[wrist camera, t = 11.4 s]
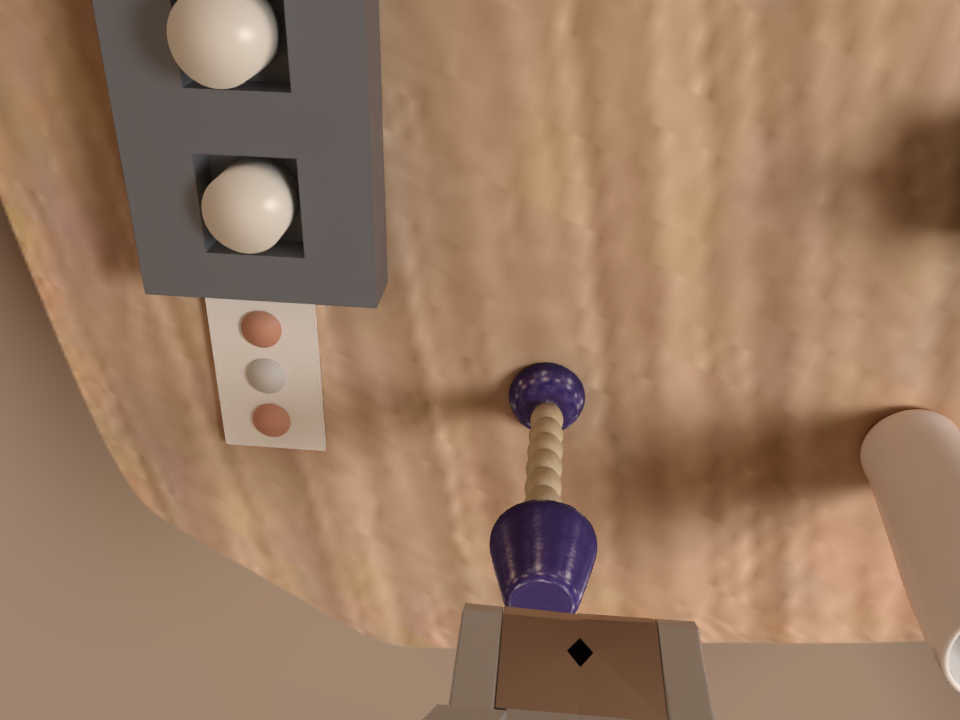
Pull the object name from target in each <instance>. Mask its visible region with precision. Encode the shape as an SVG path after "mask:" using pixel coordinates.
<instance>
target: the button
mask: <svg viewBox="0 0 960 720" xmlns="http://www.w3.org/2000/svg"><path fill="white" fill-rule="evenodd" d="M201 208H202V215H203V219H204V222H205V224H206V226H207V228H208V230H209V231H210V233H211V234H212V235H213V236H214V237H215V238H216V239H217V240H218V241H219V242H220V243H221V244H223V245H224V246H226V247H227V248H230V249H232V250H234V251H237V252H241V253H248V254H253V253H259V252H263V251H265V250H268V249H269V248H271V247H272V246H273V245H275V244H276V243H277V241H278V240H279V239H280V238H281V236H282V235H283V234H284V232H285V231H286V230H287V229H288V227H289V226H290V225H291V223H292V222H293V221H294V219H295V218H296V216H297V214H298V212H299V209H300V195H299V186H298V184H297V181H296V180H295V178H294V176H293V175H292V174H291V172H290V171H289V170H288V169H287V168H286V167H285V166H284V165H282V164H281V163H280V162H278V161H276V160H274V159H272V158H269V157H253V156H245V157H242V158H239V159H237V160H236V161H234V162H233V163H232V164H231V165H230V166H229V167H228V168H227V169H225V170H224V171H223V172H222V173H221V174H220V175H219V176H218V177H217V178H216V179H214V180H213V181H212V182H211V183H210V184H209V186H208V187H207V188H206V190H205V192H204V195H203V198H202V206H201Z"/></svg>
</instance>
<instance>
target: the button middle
mask: <svg viewBox="0 0 960 720" xmlns="http://www.w3.org/2000/svg"><path fill="white" fill-rule="evenodd" d="M280 37H281V35H280V24H279V21H278V17H277V15H276V12H275V10H274V8H273V6H272V5H271V3H270V2H269V1H268V0H178V1H177V2H176V3H175V4H174V6H173V7H172V9H171V11H170V14H169V17H168V21H167V40H168V45H169V48H170V51H171V53H172V55H173V57H174V59H175V61H176V62H177V64H178V65H179V67H180V68H181V69H182V70H183V71H184V72H185V73H186V74H187V75H188V76H189V77H190V78H191V79H193V80H194V81H196V82H198V83H200V84H201V85H204V86H207V87H210V88H214V89H229V88H233V87H237V86H239V85H241V84H243V83H244V82H245V81H247V80H248V79H250V78H251V77H253V76H254V75H256V74H257V73H258V72H260V71H261V70H263V69H264V68H266V67H267V66H268V65H269V64H270V63H271V62H272V60H273V59H274V57H275V56H276V54H277V51H278V49H279V45H280Z"/></svg>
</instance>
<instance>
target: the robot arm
mask: <svg viewBox="0 0 960 720" xmlns="http://www.w3.org/2000/svg"><path fill="white" fill-rule="evenodd" d="M423 720H714V715H713V710H712V704H711V699H710V692H709V686H708V681H707V675H706V669H705V664H704V657H703V652H702V647H701V640H700V634H699V628H698V627H697V625H696V624H695V622H693V621H679V620H665V619H655V620H654V619H651V618H637V617H622V616H608V615H594V614H580V613H578V614H573V613H564V612H554V611H545V610H535V609H526V608H516V607H507V606H504V612H503V607H499V606H490V605H480V604H471V603H465V605H464V608H463V611H462V616H461V623H460V630H459V637H458V644H457V651H456V658H455V665H454V672H453V679H452V686H451V693H450V700H449V705H436V706H435V707H434V708H433V709H432V711H431V712H430V713H429V714H428V715H427V716H426V717H425V718H424V719H423Z"/></svg>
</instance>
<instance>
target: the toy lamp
mask: <svg viewBox="0 0 960 720" xmlns="http://www.w3.org/2000/svg"><path fill="white" fill-rule="evenodd" d="M509 400H510V405H511V408H512V411H513V413H514V415H515V416H516V418H517V419H518V420H519V421H520V423H521V424H523V425H524V426H525V427H527V428H529V429H530V433H529V440H530V444H529V446H528V461H527V465H526V475H527V480H526V483H525V494H526V499H525V501H524V502H523V503H520V504H517V505H515V506H513V507H511V508H510V509H508V510H506V511H505V512H504V513H503V514H502V515H500V517H499V518H498V520H497V521H496V523H495V525H494V527H493V529H492V532H491V537H490V553H491V557H492V562H493V565H494V569H495V573H496V577H497V581H498V584H499V588H500V591H501V595H502V599H503V602H504V604H505V606H507V607H516V608H526V609H535V610H545V611H554V612H564V613H573V614H575V613H576V611H577V609H578V607H579V605H580V603H581V600H582V597H583V594H584V591H585V589H586V586H587V583H588V580H589V577H590V574H591V572H592V569H593V566H594V562H595V559H596V554H597V539H596V535H595V532H594V529H593V527H592V525H591V523H590V522H589V521H588V520H587V518H586V517H585V516H583V515H582V514H581V513H580V512H578V511H577V510H576V509H575V508H574V507H572V506H570V505H567V504H564V503H561V499H560V495H561V491H562V484H561V479H560V477H561V474H562V463H561V459H562V455H563V448H562V444H561V443H562V439H563V431H562V430H564V429H566V428H568V427H569V426H570V425H571V424H573V423H574V422H575V421H576V420H577V418H578V417H579V415H580V413H581V411H582V409H583V406H584V402H585V392H584V388H583V385H582V383H581V381H580V380H579V378H578V377H577V376H576V375H575V374H574V373H573V372H572V371H570V370H569V369H567V368H565V367H563V366H561V365H557V364H554V363H542V364H535V365H532V366H530V367H527V368H526V369H524V370H522V371H521V372H520V373H519V374H518V375H517V376H516V377H515V379H514V381H513V382H512V384H511V387H510V391H509Z"/></svg>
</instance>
